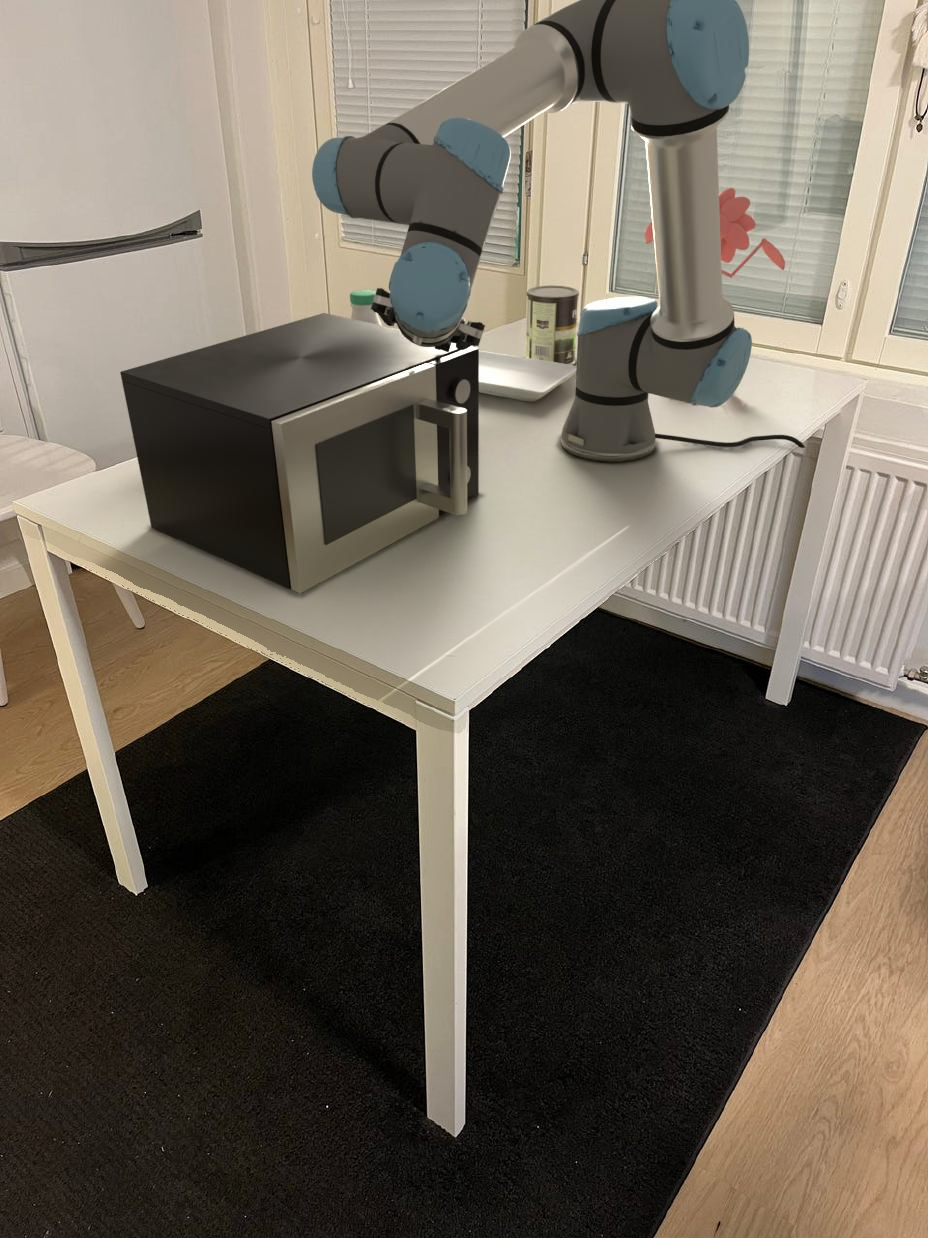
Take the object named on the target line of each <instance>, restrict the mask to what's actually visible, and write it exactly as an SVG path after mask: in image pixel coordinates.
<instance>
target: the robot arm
mask: <svg viewBox="0 0 928 1238" xmlns="http://www.w3.org/2000/svg"><path fill="white" fill-rule="evenodd" d="M749 58H750V38H749V31H748V25H747V21H746V18H745V14H744V12H743V10H742V8H741V6H740V4H739V3H738V1H737V0H577V1H575V2H573V3H570V4H568V5H567V6H564V7H563V8H561V9H559V10H557V11H555V12H553V13H552V14H550V15H548V16H546V17H543V18H542V19H541V20H539V21H537V22H536V23H533V24H532V25H531V26H528V27H527V28H526V29H524V30H523V31H521V33H520V34H519V35H518V37H517V38H516V40H515V42H514V45H513V47H512V48H510V49H508V50H507V51H506V52H504V53H503V54H500V55H499V56H497V57H496V58H494V59H492V60H491V61H489V62H487V63H485V64H484V65H482V66H481V67H478V68H477V69H475V70H473V71H472V72H471V73H469V74H466V75H465V76H463V77H462V78H461V79H458V80H457V81H456V82H454V83H452V84H450V85H448V86H447V87H445V88H443V89H442V90H440V91H439V92H437V93H435V94H433V95H432V96H429V98H427V99H425V100H423V101H422V102H420V103H419V104H416V105H415V106H413V107H412V108H410V109H408V110H407V111H405V112H403V113H402V114H400V115H398V116H396V117H395V118H393V119H391V120H390V121H388V122H386V123H385V124H383V125H382V126H379V127H378V128H376V129H374V130H372V131H371V132H369V133H367V134H365V135H363V136H361V137H355V136H352V135H344V136H341V137H339V136H338V137H332V138H330V139H327V140H326V141H325V142H323V143H322V144H321V146H320V147H319V148H318V150H317V152H316V154H315V156H314V159H313V163H312V167H311V179H312V183H313V184H312V185H313V189H314V192H315V195H316V197H317V199H318V200H319V202H320V204H322V206H323V207H325V208H326V209H327V210H329V211H330V212H333V213H336V214H340V215H344V216H347V217H350V218H351V219H355V220H357V219H363V220H364V219H365V220H370V221H379V222H385V223H393V224H400V225H406V226H408V229H407V231H406V236H405V239H404V242H403V246H402V249H401V252H400V255H399V257H398V259H397V260H396V262H395V263H394V265H393V267H392V271H391V274H390V277H389V283H388V290H389V292H388V291H387V290H385V289H384V288H383V287H377V288H376V290H375V292H376V293H375V297H374V300H373V303H372V307H371V310H373V311H374V312H376V313H377V315H378V317H380V318H381V320H382V321H383V323H384V324H385V325H387V327H394V326H395V324H396V326H397V329H399V330H400V331H401V333H402V334H403V335H404V337H405V338H406V339H408V340H409V341H410V342H412V343H414V344H416V345H418V346H422V347H435V349H438V350H440V349H441V350H443V351H446V352H449V350H450V346H451V343H455V344H456V346H455V347H456V348H458V350H465V349H467V348H468V347H479V346H480V344H481V343H480V342H481V341H482V337H483V332H484V330H485V328H486V325H485V324H484V323H483V322H481V321H472V320H467V322H466V320H465V318H464V317H463V316H464V314H465V312H466V310H467V308H468V303H469V299H470V296H471V294H472V293H471V292H472V288H473V284H474V281H475V279H476V276H477V272H478V268H479V265H480V263H481V262H480V261H481V256H482V254H483V250H484V248H485V245H486V241H487V239H488V235H489V233H490V230H491V226H492V223H493V220H494V217H495V214H496V211H497V208H498V205H499V202H500V200H501V199H500V198H501V197H502V194H504V184H505V180H506V177H507V173H508V170H509V165H510V162H511V158H512V149H511V145H510V144H509V142H508V140H507V139H505V137H506V136H508V135H509V134H511V133H513V132H514V131H516V130H517V129H520V127H522V126H524V125H525V124H526V123H528V122H530V121H531V120H533V119H535V118H536V117H537V116H538V115H539V116H540V114H542V113H544V114H545V113H546V114H555V113H558V112H561V111H563V110H565V109H566V108H568V107H569V106H571V105H574V104H580V103H593V102H594V103H612V104H627V105H628V106H629V115H630V125H631V126H630V127H631V130H632V131H633V133H635V135H637V136H638V137H640V138H641V139H642V140H644V141H645V152H646V163H647V175H648V187H649V197H650V208H651V209H650V210H651V220H652V221H651V222H653V234H654V241H653V243H654V254H655V257H654V258H655V267H656V280H657V288H658V289H657V291H658V301H659V302H657V300H656V299H653V298H652V297H647V296H622V297H612V298H606V299H601V300H596V301H593V302H591V303H589V304H587V305H585V306H584V307H583V309H582V310H581V312H580V315H579V323H578V330H577V331H576V337H577V347H576V365H575V366H576V374H575V386H574V387H575V390H574V398H573V401H572V404H571V406H570V408H569V411H568V414H567V417H566V419H565V420H564V421H565V422H564V424H563V426H562V431H561V435H560V436H561V437H560V444H561V446H562V448H563V449H564V450H565V451H567V452H568V453H569V454H572V455H574V456H576V457H578V458H582V459H586V460H591V461H596V462H597V461H598V462H607V463H608V462H609V463H614V462H619V463H620V462H628V461H633V460H639V459H641V458H644V457H647V456H649V455H650V454H652V453H653V451H654V450H655V446H656V439H658V440H668V441H675V442H682V443H689V444H695V445H702V446H703V445H704V446H710V447H716V448H717V447H719V448H736V447H737V448H738V447H741V446H744V445H746V444H748V443H751V442H759V441H760V442H761V441H772V440H773V441H774V440H783V441H788V442H792V443H793V444H795V445H796V446H798V448H801V449H804V448H805V449H806V446H805V445H804V444H803V442H802V441H800V440H799V439H798V438H796V437H794V436H792V435H787V434H769V435H767V434H766V435H755V436H750V437H749V436H748V437H747V438H743V439H741V440H738V441H732V442H729V441H728V442H726V441H725V442H724V441H714V440H707V439H698V438H691V437H684V436H678V435H671V434H662V433H656V431H655V426H654V422H653V418H652V413H651V408H650V405H649V394H651V395H655V396H658V397H662V398H666V399H669V400H675V401H678V402H683V403H687V404H690V405H691V406H693V407H694V406H702V407H707V408H718V407H720V406H722V405H724V404H725V403H727V402H728V401H729V400H730V399H731V397H732V396H733V395H734V394H735V392H736V391H737V389H738V387H739V386H740V384H741V382H742V380H743V378H744V376H745V374H746V371H747V368H748V365H749V362H750V359H751V353H752V346H753V340H752V335H751V333H750V332H749V331H748V330H747V329H745V328H744V327H739V326H738V327H736V325H735V310H734V307H733V305H732V303H731V302H730V301H728V300H727V299H726V298H724V297H723V274H722V270H723V269H722V260H721V239H720V209H719V195H720V184H719V155H718V127H719V126H720V124H721V123H722V122H723V121H724V120H725V118H726V117H727V116H728V115H729V112H730V105H731V104H733V103H734V102H735V100H736V99H737V98H738V96H739V95H740V94H741V91H742V89H743V86H744V84H745V81H746V77H747V75H746V72H745V70H746V68H747V67H748V66H749V60H750V59H749ZM658 303H659V306H658Z"/></svg>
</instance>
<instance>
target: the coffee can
mask: <svg viewBox="0 0 928 1238" xmlns="http://www.w3.org/2000/svg"><path fill="white" fill-rule="evenodd" d="M526 296H527V298H526V334H525V335H526V337H525V339H526V340H525V358H531V359H538V360H544V361H551V362H557V363H563V364H568V365H573V366H575V363H576V343H577V342H576V341H577V328H578V327H577V326H578V306H579V305H578V304H579V296H580V291H579V290H578V289H576V288H574V287H571V286H564V285H540V286H534V287H531V288H529V289H527V290H526Z"/></svg>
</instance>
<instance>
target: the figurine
mask: <svg viewBox="0 0 928 1238" xmlns="http://www.w3.org/2000/svg"><path fill="white" fill-rule="evenodd" d="M750 205H751V200H750V198H748V197H747V196H736V190H735V189H734V188H733V187H729V188H728V187H727V188H726V189H725V190H723V191H721V192H720V193H719V209H720V239H721V262H723V263H726V264H729V263H731V262H732V261H733V259H734V257H735V255H736V251H737V250H738V251H746V250H748V249H749V247H750V238H749V234H748V233H749V232H750V231H752V230H754V229H756V226H757V223H756V220H755V219H754V218H753V217H752V216H751V215H750V214H748V213H746V212H747V211H748V210H749V207H750ZM747 232H748V233H747ZM644 239H645V242H646V243H645V244H651V243H654V234H653V222H652V221H651V222H650V223H649V224H648V225H647V226H646V228H645V230H644ZM760 248H762V251H763V252H764V254H765V255H766V256H767V258H769V260H770V261H771V262H772V263H773V264H775V266H777V268H779V269H781V270H782V271H784V270H785V268H786V260H785V258H784V256H783V255H782V253H781V251H780V250H779V249H778V248H777V247H776V246H775V245H774V244H773V243H772V242H770V241H769V240H767V239H766V238H764V237H763V238H762V239H761V241H760V242H759V244H757V246H756V247H755V248H753V250H752V251H751V252H750V253H749V254H748V255H747V256H746V257H745V259H743V261H742V262H741V263H740V264H739V265H738V266H737V267H736V268H735V269H734V270H733V271H732V272H731V273H730V272H728V271H726V270H724V269H722V275H724V276H726V277H728V278H730V279H732V278H733V277H734V276H735V275H736V274H737V273H738V272H739V271H740V270H741V269H742V268H743V267H744V266H745V265H746V264H747V262H748V261H749V260H750V259H751V258H752V257H753V256H754V255H755V254H756V253H757V252H758V251H759V250H760ZM745 405H746V403H743V404H742V405H741V407H744V406H745Z"/></svg>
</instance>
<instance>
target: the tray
mask: <svg viewBox="0 0 928 1238" xmlns="http://www.w3.org/2000/svg"><path fill="white" fill-rule="evenodd" d="M574 375H576V365H568V364H563V363H557V362H551V361H544V360H538V359H531V358H526V357H525V356H519V355H518V356H517V355H512V354H511V355H510V354H505V353H498V352H490V351H485V350H480V349H479V394H481V393H482V394H485V395H491V396H498V397H503V398H507V399H513V400H518V401H523V402H530V403H533V402H537V401H539V400H540V399H542V398H543V397H544V396H546V395H547V394H549V393H551V391H553V390H554V389H557V387H559V386H560V385H561V384H563V383H564V382H566V381H567V380H569V379H570V378H572V377H573V376H574Z"/></svg>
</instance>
